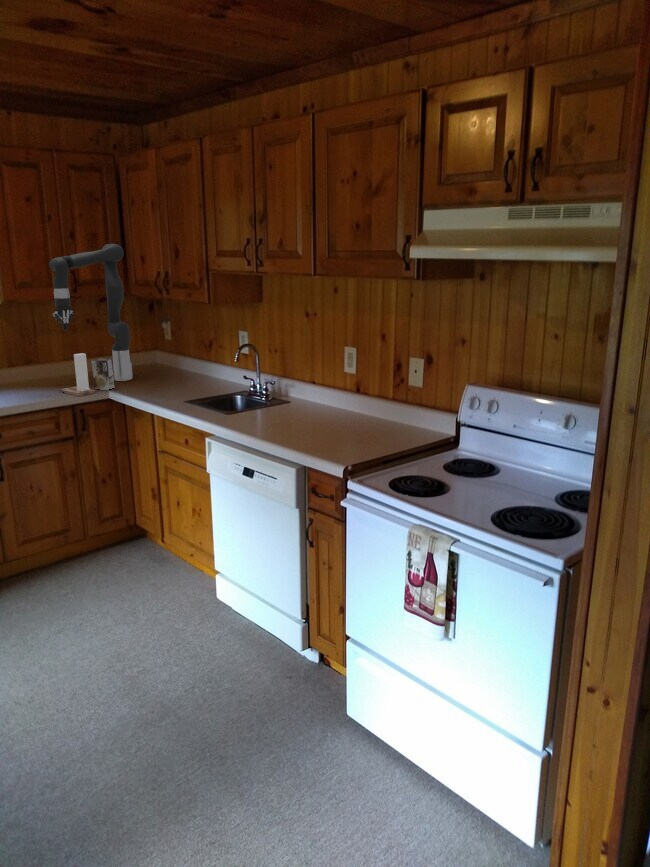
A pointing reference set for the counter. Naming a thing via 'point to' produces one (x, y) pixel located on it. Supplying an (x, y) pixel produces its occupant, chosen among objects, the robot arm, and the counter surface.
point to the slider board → (77, 393)
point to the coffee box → (103, 374)
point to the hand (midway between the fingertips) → (65, 330)
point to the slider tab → (81, 372)
